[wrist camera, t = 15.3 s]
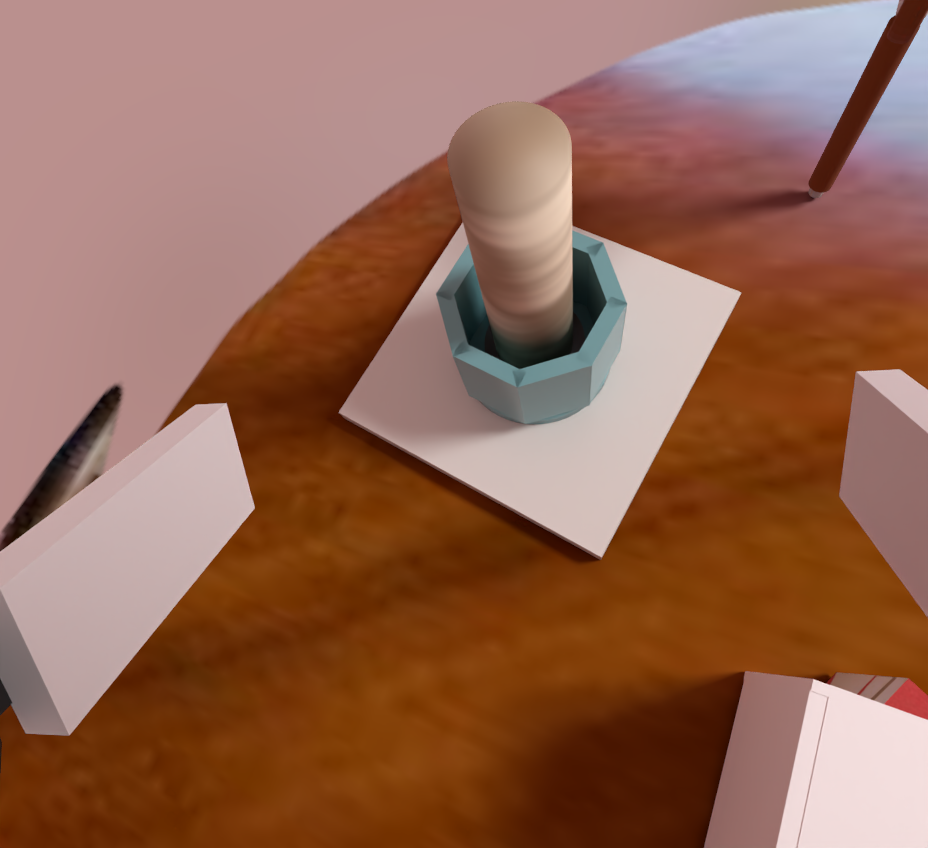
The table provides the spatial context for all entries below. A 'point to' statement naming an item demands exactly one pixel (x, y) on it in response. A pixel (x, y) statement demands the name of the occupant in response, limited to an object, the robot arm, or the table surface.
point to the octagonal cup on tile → (546, 386)
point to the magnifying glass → (868, 92)
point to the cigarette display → (825, 765)
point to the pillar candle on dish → (519, 228)
